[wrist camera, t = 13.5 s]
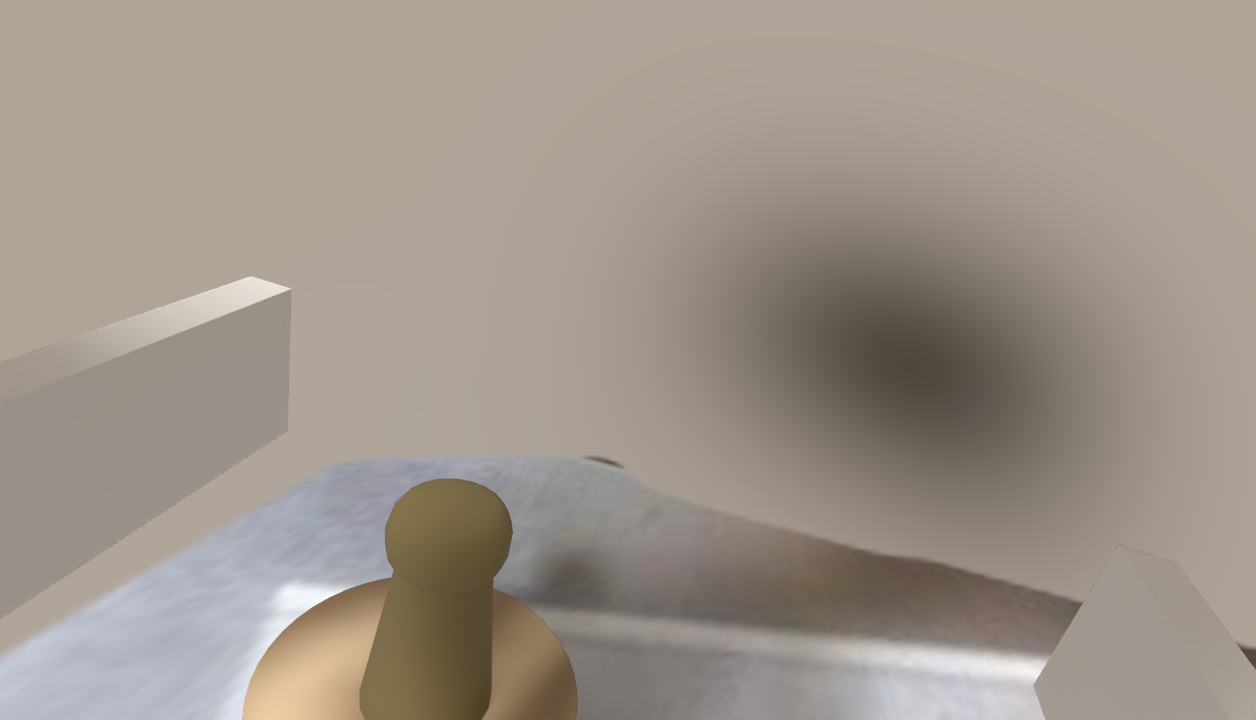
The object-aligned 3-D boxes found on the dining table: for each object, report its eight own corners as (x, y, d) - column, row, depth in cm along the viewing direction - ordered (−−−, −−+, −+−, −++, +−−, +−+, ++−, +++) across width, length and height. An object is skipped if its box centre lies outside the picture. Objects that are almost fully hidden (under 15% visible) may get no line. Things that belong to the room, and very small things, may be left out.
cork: (368, 639, 36) (386, 453, 32) (491, 642, 38) (524, 465, 33) (348, 750, 31) (367, 543, 26) (492, 748, 32) (532, 552, 28)
